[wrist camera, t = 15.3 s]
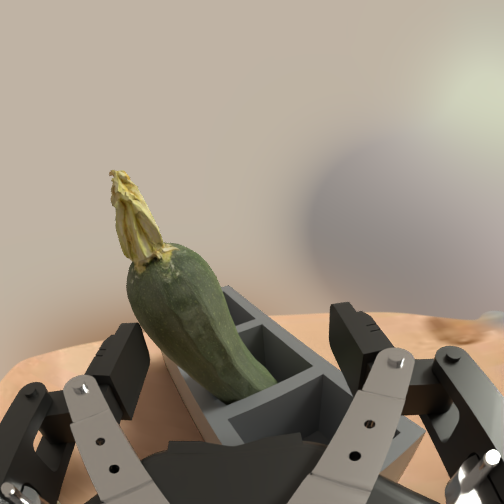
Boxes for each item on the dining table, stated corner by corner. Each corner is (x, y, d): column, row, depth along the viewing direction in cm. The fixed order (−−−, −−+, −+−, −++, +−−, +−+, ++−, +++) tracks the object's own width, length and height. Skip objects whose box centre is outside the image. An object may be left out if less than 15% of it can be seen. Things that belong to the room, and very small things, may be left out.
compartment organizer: (165, 364, 30) (149, 308, 28) (236, 340, 33) (228, 285, 31) (287, 559, 10) (287, 533, 8) (394, 487, 14) (426, 430, 11)
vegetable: (287, 440, 19) (101, 194, 8) (234, 435, 20) (39, 224, 10) (297, 390, 22) (167, 141, 11) (247, 388, 24) (100, 172, 13)
